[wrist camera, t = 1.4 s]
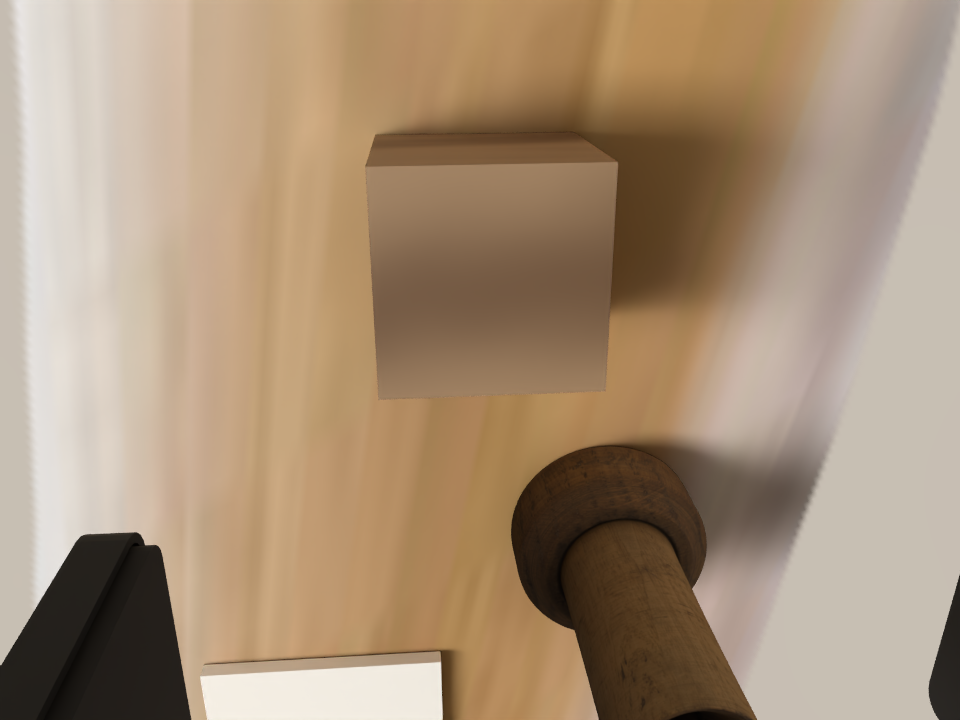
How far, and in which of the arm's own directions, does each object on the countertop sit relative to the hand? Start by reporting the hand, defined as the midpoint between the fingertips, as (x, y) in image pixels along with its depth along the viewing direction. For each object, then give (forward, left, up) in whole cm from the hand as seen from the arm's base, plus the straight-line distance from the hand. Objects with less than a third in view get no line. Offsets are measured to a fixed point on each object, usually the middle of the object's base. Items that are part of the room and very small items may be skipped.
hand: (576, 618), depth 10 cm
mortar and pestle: (+11, +5, -18) cm, 22 cm away
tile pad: (+21, -6, -18) cm, 28 cm away
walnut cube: (0, 0, -18) cm, 18 cm away
